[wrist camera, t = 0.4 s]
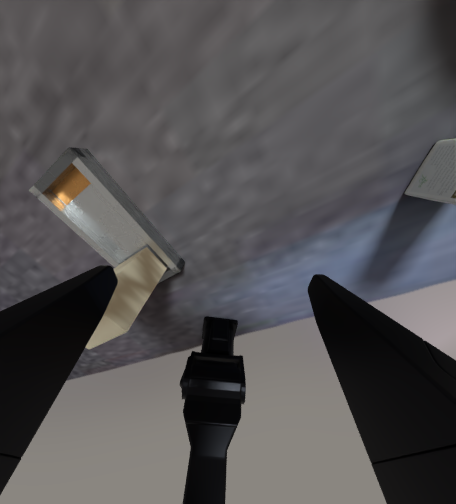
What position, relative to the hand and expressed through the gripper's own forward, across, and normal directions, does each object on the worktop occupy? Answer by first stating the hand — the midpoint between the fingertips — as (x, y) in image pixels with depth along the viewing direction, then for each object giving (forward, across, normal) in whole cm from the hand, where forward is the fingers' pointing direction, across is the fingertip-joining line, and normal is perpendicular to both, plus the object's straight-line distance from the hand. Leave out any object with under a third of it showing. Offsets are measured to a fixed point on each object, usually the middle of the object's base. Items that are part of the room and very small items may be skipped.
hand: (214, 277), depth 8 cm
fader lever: (+14, +11, +11) cm, 21 cm away
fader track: (+16, +14, +6) cm, 22 cm away
